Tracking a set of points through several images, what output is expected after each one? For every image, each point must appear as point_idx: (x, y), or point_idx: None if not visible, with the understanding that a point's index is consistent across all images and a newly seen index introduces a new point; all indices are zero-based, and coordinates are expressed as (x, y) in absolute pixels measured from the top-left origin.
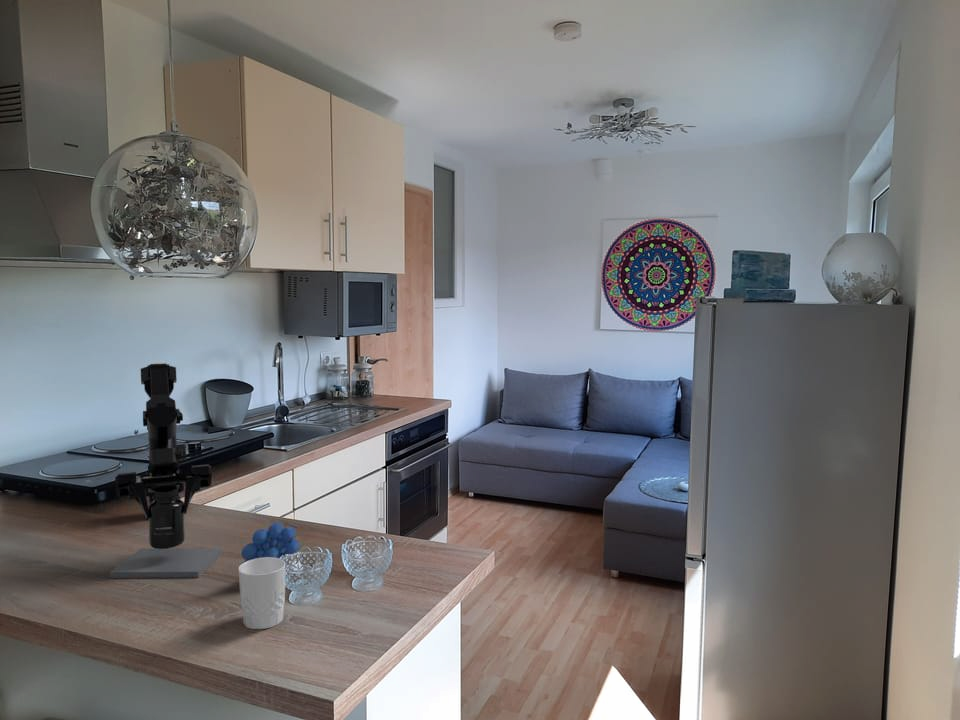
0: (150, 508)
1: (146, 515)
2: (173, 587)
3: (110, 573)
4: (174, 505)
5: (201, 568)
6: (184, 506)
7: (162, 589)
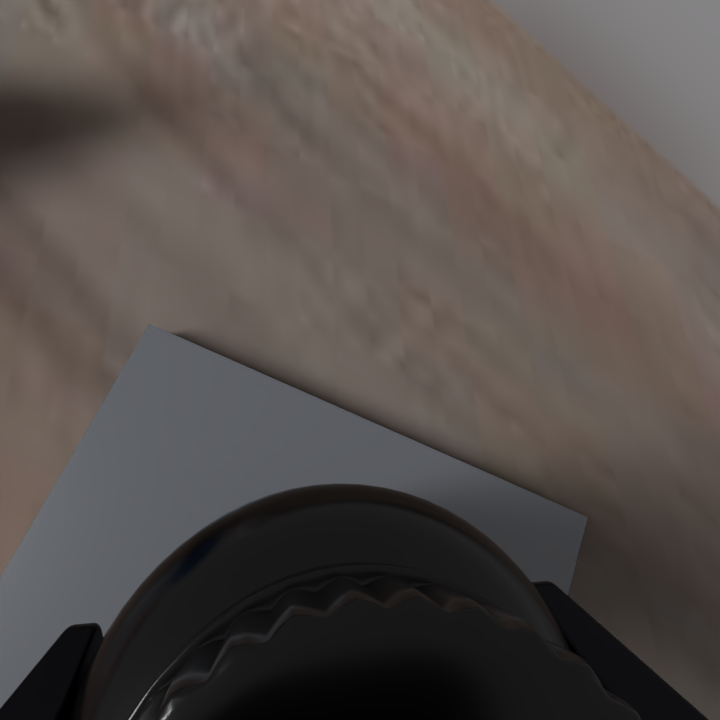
0: (556, 623)
1: (558, 590)
2: (277, 269)
3: (579, 516)
4: (216, 548)
5: (127, 363)
6: (62, 690)
7: (324, 269)
